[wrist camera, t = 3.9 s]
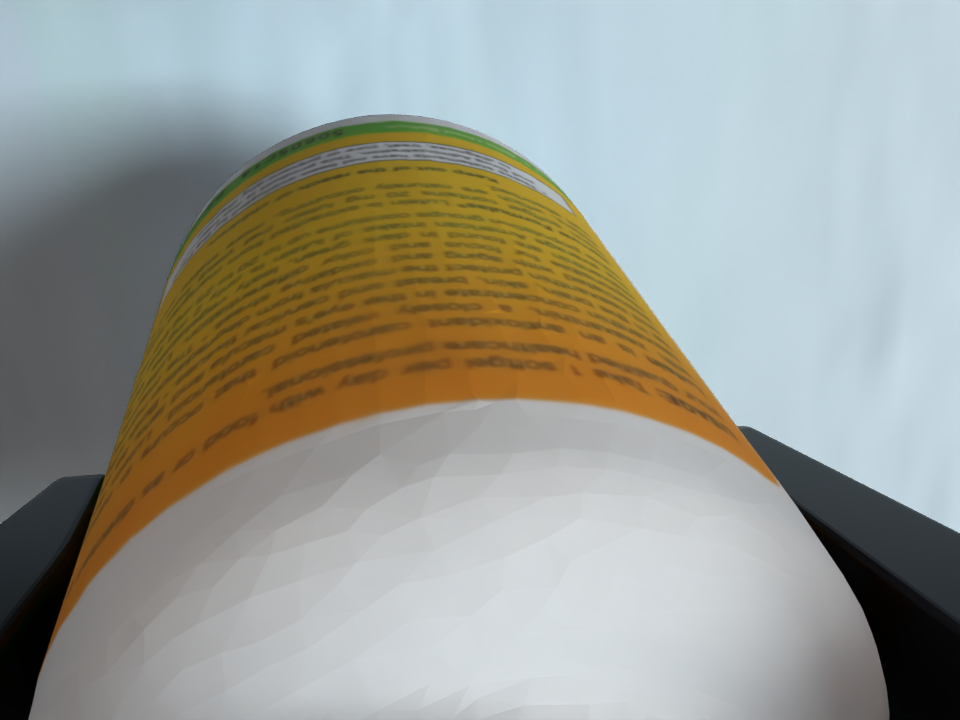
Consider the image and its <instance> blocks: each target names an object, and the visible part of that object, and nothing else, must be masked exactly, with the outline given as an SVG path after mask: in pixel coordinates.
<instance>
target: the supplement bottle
mask: <svg viewBox="0 0 960 720" xmlns="http://www.w3.org/2000/svg"><path fill="white" fill-rule="evenodd" d="M28 720H889V705H888V697H887V688H886V683H885V679H884V675H883V671H882V666H881V662H880V658H879V654H878V650H877V647H876V644H875V641H874V638H873V635H872V632H871V630H870V627H869V624H868V622H867V619H866V617H865V614H864V612H863V609H862V607H861V606H860V604H859V602H858V600H857V599H856V597H855V595H854V593H853V592H852V590H851V588H850V586H849V584H848V583H847V581H846V579H845V577H844V576H843V574H842V572H841V571H840V570H839V568H838V567H837V565H836V564H835V562H834V561H833V559H832V558H831V556H830V555H829V553H828V552H827V550H826V549H825V547H824V546H823V544H822V543H821V542H820V540H819V539H818V537H817V536H816V534H815V533H814V531H813V530H812V528H811V527H810V525H809V524H808V522H807V521H806V519H805V518H804V516H803V515H802V513H801V512H800V511H799V509H798V508H797V506H796V505H795V503H794V502H793V501H792V499H791V498H790V497H789V495H788V494H787V492H786V491H785V490H784V488H783V487H782V486H781V484H780V483H779V481H778V480H777V479H776V477H775V476H774V475H773V473H772V472H771V471H770V469H769V468H768V467H767V465H766V464H765V463H764V461H763V460H762V459H761V457H760V456H759V455H758V454H757V452H756V451H755V450H754V448H753V447H752V446H751V444H750V443H749V442H748V440H747V439H746V438H745V436H744V435H743V434H742V432H741V431H740V430H739V428H738V427H737V426H736V424H735V423H734V422H733V420H732V419H731V418H730V416H729V415H728V414H727V412H726V411H725V409H724V408H723V407H722V405H721V404H720V403H719V401H718V400H717V399H716V397H715V396H714V394H713V393H712V392H711V390H710V389H709V388H708V386H707V385H706V384H705V382H704V381H703V379H702V378H701V377H700V375H699V374H698V373H697V371H696V370H695V369H694V367H693V366H692V364H691V363H690V362H689V360H688V359H687V358H686V356H685V355H684V353H683V352H682V351H681V349H680V348H679V347H678V345H677V344H676V343H675V341H674V340H673V338H672V337H671V336H670V334H669V333H668V332H667V330H666V329H665V328H664V326H663V325H662V323H661V322H660V321H659V319H658V318H657V317H656V315H655V314H654V312H653V311H652V310H651V308H650V307H649V306H648V304H647V303H646V301H645V300H644V299H643V297H642V296H641V295H640V293H639V292H638V290H637V289H636V288H635V286H634V285H633V284H632V282H631V281H630V279H629V278H628V277H627V275H626V274H625V273H624V271H623V270H622V268H621V267H620V266H619V264H618V263H617V262H616V260H615V259H614V258H613V256H612V255H611V254H610V252H609V251H608V250H607V248H606V247H605V245H604V244H603V243H602V241H601V240H600V239H599V237H598V236H597V234H596V233H595V232H594V230H593V229H592V227H591V226H590V225H589V223H588V222H587V221H586V219H585V218H584V217H583V216H582V214H581V213H580V212H579V211H578V209H577V208H576V207H575V205H574V204H573V203H572V202H571V201H570V199H569V198H568V197H567V196H566V194H565V193H564V192H563V191H562V190H561V189H560V187H559V186H558V185H557V184H556V183H555V182H554V181H553V180H552V179H551V178H550V177H549V176H548V175H547V174H545V173H544V172H543V171H542V170H541V169H540V168H539V167H537V166H536V165H535V164H534V163H532V162H531V161H530V160H528V159H527V158H526V157H524V156H523V155H522V154H520V153H519V152H517V151H515V150H514V149H512V148H511V147H509V146H507V145H505V144H503V143H502V142H500V141H498V140H496V139H494V138H492V137H489V136H487V135H485V134H483V133H481V132H478V131H476V130H473V129H470V128H467V127H464V126H461V125H458V124H455V123H451V122H448V121H443V120H439V119H434V118H427V117H421V116H412V115H395V114H386V115H368V116H361V117H354V118H349V119H344V120H340V121H336V122H332V123H328V124H324V125H321V126H318V127H315V128H312V129H309V130H306V131H303V132H301V133H299V134H297V135H294V136H292V137H290V138H288V139H285V140H283V141H281V142H280V143H278V144H276V145H274V146H272V147H271V148H269V149H267V150H265V151H263V152H262V153H260V154H259V155H257V156H256V157H255V158H253V159H252V160H250V161H249V162H247V163H246V164H245V165H244V166H243V167H241V168H240V169H239V170H238V171H237V172H236V173H234V174H233V175H232V176H231V177H230V178H229V179H228V180H227V181H226V182H225V183H224V184H223V185H222V186H221V187H220V188H219V189H218V190H217V191H216V192H215V194H214V195H213V196H212V197H211V198H210V200H209V201H208V202H207V203H206V205H205V206H204V208H203V209H202V211H201V212H200V214H199V215H198V217H197V218H196V220H195V221H194V223H193V224H192V226H191V228H190V229H189V231H188V233H187V235H186V237H185V239H184V241H183V242H182V245H181V247H180V249H179V252H178V254H177V257H176V259H175V262H174V264H173V267H172V269H171V272H170V274H169V277H168V280H167V283H166V286H165V289H164V292H163V295H162V298H161V301H160V305H159V308H158V311H157V314H156V318H155V321H154V325H153V328H152V331H151V334H150V338H149V341H148V344H147V347H146V350H145V353H144V357H143V360H142V363H141V366H140V369H139V372H138V375H137V377H136V380H135V383H134V387H133V391H132V394H131V397H130V400H129V403H128V406H127V410H126V413H125V416H124V419H123V422H122V426H121V429H120V432H119V435H118V438H117V441H116V444H115V448H114V451H113V454H112V457H111V460H110V463H109V466H108V469H107V472H106V475H105V478H104V481H103V484H102V487H101V490H100V493H99V496H98V499H97V502H96V505H95V508H94V511H93V514H92V517H91V520H90V523H89V526H88V529H87V532H86V535H85V538H84V541H83V544H82V547H81V550H80V553H79V556H78V559H77V562H76V565H75V568H74V571H73V574H72V577H71V580H70V583H69V586H68V589H67V592H66V595H65V598H64V601H63V604H62V607H61V610H60V613H59V616H58V619H57V622H56V625H55V628H54V631H53V634H52V637H51V640H50V643H49V646H48V649H47V652H46V655H45V658H44V661H43V664H42V667H41V670H40V673H39V676H38V680H37V685H36V690H35V694H34V699H33V703H32V707H31V711H30V715H29V719H28Z"/></svg>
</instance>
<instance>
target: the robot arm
mask: <svg viewBox="0 0 960 720" xmlns="http://www.w3.org/2000/svg"><path fill="white" fill-rule="evenodd" d="M737 427H738V428H739V430H740V431H741V432H742V434H743V435H744V436H745V438H746V439H747V440H748V442H749V443H750V444H751V446H752V447H753V448H754V450H755V451H756V452H757V454H758V455H759V456H760V457H761V459H762V460H763V461H764V463H765V464H766V465H767V467H768V468H769V469H770V471H771V472H772V473H773V475H774V476H775V477H776V479H777V480H778V481H779V483H780V484H781V486H782V487H783V488H784V490H785V491H786V492H787V494H788V495H789V497H790V498H791V499H792V501H793V502H794V503H795V505H796V506H797V508H798V509H799V511H800V512H801V513H802V515H803V516H804V518H805V519H806V521H807V522H808V524H809V525H810V527H811V528H812V530H813V531H814V533H815V534H816V536H817V537H818V539H819V540H820V542H821V543H822V544H823V546H824V547H825V549H826V550H827V552H828V553H829V555H830V556H831V558H832V559H833V561H834V562H835V564H836V565H837V567H838V568H839V570H840V571H841V572H842V574H843V576H844V577H845V579H846V581H847V583H848V584H849V586H850V588H851V590H852V592H853V593H854V595H855V597H856V599H857V600H858V602H859V604H860V606H861V607H862V609H863V612H864V614H865V617H866V619H867V622H868V624H869V627H870V630H871V632H872V635H873V638H874V641H875V644H876V647H877V650H878V654H879V658H880V662H881V666H882V671H883V675H884V679H885V683H886V688H887V697H888V705H889V720H960V533H958V532H956V531H954V530H952V529H950V528H948V527H946V526H944V525H942V524H940V523H938V522H936V521H934V520H932V519H931V518H929V517H927V516H925V515H923V514H921V513H919V512H917V511H915V510H913V509H911V508H909V507H907V506H905V505H903V504H901V503H899V502H897V501H895V500H893V499H891V498H889V497H887V496H885V495H883V494H881V493H879V492H877V491H875V490H873V489H871V488H869V487H867V486H865V485H863V484H861V483H859V482H857V481H855V480H854V479H852V478H850V477H848V476H846V475H844V474H842V473H840V472H838V471H836V470H834V469H832V468H830V467H828V466H826V465H824V464H822V463H820V462H818V461H816V460H814V459H812V458H810V457H808V456H806V455H804V454H802V453H800V452H798V451H796V450H794V449H792V448H790V447H788V446H786V445H785V444H783V443H781V442H779V441H777V440H775V439H773V438H771V437H769V436H767V435H765V434H763V433H761V432H759V431H757V430H755V429H753V428H751V427H747V426H737ZM104 478H105V475H104V474H98V475H84V476H71V477H63V478H60V479H58V480H57V481H55V482H53V483H52V484H51V485H50V486H48V487H47V488H46V489H45V490H43V491H42V492H41V493H40V494H38V495H37V496H36V497H35V498H33V499H32V500H31V501H29V502H28V503H27V504H26V505H24V506H23V507H22V508H21V509H19V510H18V511H17V512H16V513H14V514H13V515H12V516H10V517H9V518H8V519H7V520H5V521H4V522H3V523H2V524H0V720H28V719H29V715H30V711H31V707H32V703H33V699H34V694H35V690H36V685H37V680H38V676H39V673H40V670H41V667H42V664H43V661H44V658H45V655H46V652H47V649H48V646H49V643H50V640H51V637H52V634H53V631H54V628H55V625H56V622H57V619H58V616H59V613H60V610H61V607H62V604H63V601H64V598H65V595H66V592H67V589H68V586H69V583H70V580H71V577H72V574H73V571H74V568H75V565H76V562H77V559H78V556H79V553H80V550H81V547H82V544H83V541H84V538H85V535H86V532H87V529H88V526H89V523H90V520H91V517H92V514H93V511H94V508H95V505H96V502H97V499H98V496H99V493H100V490H101V487H102V484H103V481H104Z"/></svg>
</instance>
